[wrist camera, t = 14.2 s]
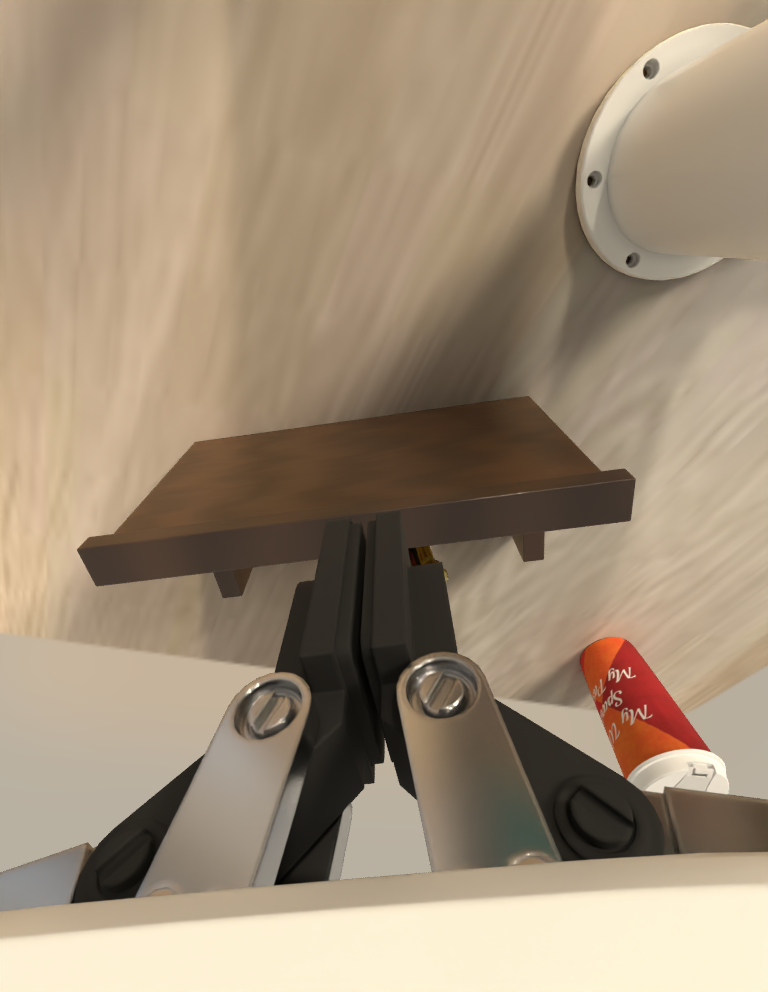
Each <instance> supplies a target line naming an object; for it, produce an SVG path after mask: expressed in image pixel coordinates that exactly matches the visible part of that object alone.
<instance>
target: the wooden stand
mask: <svg viewBox="0 0 768 992" xmlns="http://www.w3.org/2000/svg"><path fill="white" fill-rule="evenodd" d="M635 481H636V479H635V478H634V477H633V476H632V475H631V474H630V473H629V472H628V471H627V470H626V469H616V470H609V471H600V469H599V468H598V467H597V466H596V465H595V464H594V463H593V462H592V461H591V460H590V459H589V458H588V457H587V456H586V455H585V454H584V453H583V452H582V451H581V450H580V449H579V448H578V447H577V446H576V445H575V443H574V442H573V441H572V440H571V439H570V438H569V437H568V436H567V435H566V434H565V433H564V432H563V431H562V430H561V429H560V428H559V427H558V426H557V425H556V424H555V423H554V422H553V421H552V420H551V419H550V418H549V416H548V415H547V414H546V413H545V412H544V411H543V410H542V409H541V408H540V407H539V406H538V405H537V404H536V403H535V402H534V401H533V400H532V399H531V398H530V397H529V396H527V397H520V398H513V399H505V400H498V401H491V402H484V403H476V404H469V405H462V406H455V407H447V408H440V409H433V410H426V411H418V412H411V413H404V414H396V415H389V416H382V417H375V418H367V419H360V420H353V421H346V422H338V423H331V424H324V425H317V426H309V427H302V428H295V429H288V430H280V431H273V432H266V433H259V434H251V435H244V436H237V437H230V438H222V439H215V440H208V441H201V442H195V443H194V444H193V445H192V446H191V447H190V449H189V450H188V451H187V452H186V453H185V454H184V455H183V456H182V458H181V459H180V460H179V461H178V462H177V463H176V464H175V465H174V467H173V468H172V469H171V470H170V471H169V472H168V473H167V474H166V476H165V477H164V478H163V479H162V480H161V481H160V482H159V483H158V485H157V486H156V487H155V488H154V489H153V490H152V491H151V492H150V494H149V495H148V496H147V497H146V498H145V499H144V500H143V501H142V503H141V504H140V505H139V506H138V507H137V508H136V509H135V510H134V512H133V513H132V514H131V515H130V516H129V517H128V518H127V519H126V521H125V522H124V523H123V524H122V525H121V526H120V527H119V528H118V530H117V531H116V532H115V533H114V534H111V535H103V536H95V537H89V538H88V539H87V540H86V541H85V542H84V543H83V544H82V545H81V546H80V547H79V548H78V549H77V551H78V553H79V555H80V557H81V559H82V561H83V563H84V564H85V566H86V568H87V570H88V572H89V574H90V576H91V578H92V579H93V581H94V583H95V585H96V586H104V585H113V584H121V583H129V582H137V581H145V580H153V579H161V578H170V577H178V576H186V575H194V574H202V573H210V572H213V573H214V576H215V578H216V581H217V584H218V586H219V589H220V592H221V594H222V597H223V598H228V597H237V596H242V595H243V592H244V589H245V587H246V584H247V581H248V579H249V576H250V573H251V571H252V568H253V567H259V566H267V565H276V564H284V563H292V562H300V561H308V560H316V559H319V555H320V550H321V545H322V541H323V536H324V531H325V526H326V522H327V521H331V520H338V519H344V518H352V520H353V523H360V522H361V523H362V526H363V529H364V534H365V538H366V541H367V525H368V521H373V520H376V514H377V513H383V512H390V511H396V510H400V511H401V515H402V520H403V525H404V530H405V536H406V541H407V546H408V548H414V547H422V546H430V545H438V544H447V543H455V542H463V541H471V540H479V539H487V538H496V537H504V536H512V537H513V539H514V542H515V544H516V546H517V548H518V551H519V553H520V555H521V557H522V559H523V561H524V562H527V561H536V560H543V559H544V531H553V530H561V529H569V528H577V527H585V526H593V525H601V524H610V523H618V522H626V521H630V520H631V514H632V506H633V497H634V489H635Z"/></svg>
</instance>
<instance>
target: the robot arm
mask: <svg viewBox="0 0 768 992" xmlns="http://www.w3.org/2000/svg"><path fill="white" fill-rule="evenodd" d="M643 69H646V71H647V76H646V78H645V77H644V76H643ZM589 176H591V177H592V180H593V181H592V184H591V185H590V186H588V184H587V179H588V177H589ZM576 201H577V211H578V215H579V219H580V222H581V226H582V230H583V232H584V234H585V236H586V238H587V240H588V242H589V244H590V245H591V247H592V248H593V250H594V251H595V252H596V253H597V254H598V256H599V257H600V258H601V259H602V260H603V261H604V262H606V263H607V264H608V265H610V266H611V267H612V268H614V269H615V270H617V271H619V272H621V273H624V274H626V275H629V276H631V277H636V278H641V279H647V280H670V279H676V278H682V277H685V276H688V275H691V274H694V273H697V272H700V271H702V270H704V269H706V268H708V267H710V266H711V265H713V264H715V263H717V262H719V261H720V260H722V259H723V258H741V259H759V260H768V19H767V20H765V21H764V22H762V23H760V24H758V25H756V26H755V27H753V28H750V27H746V26H742V25H737V24H732V23H713V24H704V25H701V26H697V27H694V28H690V29H687V30H684V31H681V32H680V33H678V34H676V35H674V36H672V37H670V38H668V39H666V40H665V41H663V42H661V43H659V44H658V45H656V46H655V47H654V48H652V49H651V50H649V51H648V52H647V53H645V54H644V55H642V56H641V57H640V58H639V59H638V60H637V61H636V62H635V63H634V64H633V65H631V66H630V67H629V68H628V69H627V70H626V71H625V72H624V73H623V74H622V75H621V76H620V78H619V79H618V80H617V82H616V83H615V84H614V85H613V87H612V88H611V89H610V90H609V92H608V93H607V94H606V96H605V97H604V99H603V101H602V103H601V104H600V106H599V108H598V110H597V111H596V113H595V115H594V116H593V118H592V121H591V123H590V126H589V128H588V131H587V133H586V136H585V138H584V141H583V144H582V149H581V153H580V157H579V161H578V165H577V176H576ZM628 256H630V261H629V262H628V263H627V264H626V259H627V257H628ZM385 740H386V744H387V748H388V751H389V755H390V758H391V761H392V762H394V766H395V770H396V773H397V776H398V780H399V783H400V785H401V786H402V787H403V788H404V789H405V790H406V791H407V792H408V793H410V794H411V795H412V796H413V797H414V798H415V799H416V800H417V801H418V806H419V811H420V816H421V821H422V826H423V831H424V835H425V841H426V845H427V850H428V856H429V860H430V865H431V870H432V872H428V873H416V874H404V875H392V876H380V877H368V878H357V879H344V880H340V877H341V872H342V867H343V861H344V856H345V851H346V846H347V841H348V836H349V830H350V825H351V820H352V804H351V802H352V801H353V800H354V799H355V798H356V797H357V796H358V794H359V793H360V792H361V791H362V790H363V789H364V784H371V783H374V777H375V776H374V775H375V764H380V763H383V762H384V753H385V751H384V749H385V747H384V746H385ZM0 992H768V800H766V799H759V798H751V797H743V796H736V795H728V794H720V793H712V792H705V791H697V790H689V789H681V788H674V787H666V786H664V791H663V793H657V792H650V791H642V790H640V789H638V788H637V787H636V786H634V785H633V784H632V783H631V782H629V781H628V780H627V779H625V778H624V777H623V776H621V775H619V774H618V773H616V772H614V771H613V770H611V769H609V768H608V767H606V766H604V765H603V764H601V763H599V762H598V761H596V760H594V759H593V758H591V757H590V756H588V755H586V754H585V753H583V752H581V751H580V750H578V749H576V748H575V747H573V746H572V745H570V744H568V743H567V742H565V741H563V740H562V739H560V738H558V737H557V736H555V735H553V734H552V733H550V732H549V731H547V730H545V729H543V728H542V727H540V726H539V725H537V724H535V723H534V722H532V721H531V720H529V719H527V718H526V717H524V716H522V715H520V714H519V713H517V712H516V711H514V710H512V709H511V708H509V707H508V706H506V705H504V704H502V703H501V702H499V701H498V700H496V699H494V696H493V694H492V692H491V689H490V687H489V684H488V682H487V680H486V677H485V675H484V674H483V672H482V671H481V669H480V668H479V666H478V665H477V664H475V663H474V662H473V661H472V660H470V659H469V658H467V657H465V656H462V655H460V654H458V652H457V646H456V640H455V634H454V628H453V622H452V617H451V611H450V605H449V599H448V593H447V587H446V581H445V576H444V570H443V564H442V562H439V563H432V564H425V565H418V566H411V562H410V557H409V552H408V546H407V541H406V536H405V530H404V525H403V520H402V515H401V511H400V510H396V511H390V512H383V513H377V514H376V520H373V521H368V525H367V541H366V538H365V534H364V529H363V526H362V523H361V522H360V523H353V520H352V518H344V519H338V520H331V521H327V522H326V526H325V531H324V536H323V541H322V545H321V550H320V555H319V560H318V565H317V570H316V575H315V580H312V581H305V582H300V583H299V584H298V585H297V587H296V590H295V594H294V598H293V602H292V606H291V610H290V614H289V618H288V622H287V626H286V630H285V634H284V638H283V642H282V646H281V650H280V654H279V658H278V661H277V665H276V669H275V673H270V674H267V675H265V676H262V677H259V678H257V679H256V680H254V681H252V682H251V683H249V684H248V685H246V686H245V687H244V688H243V689H242V690H241V691H240V692H239V693H238V694H237V695H236V696H235V697H234V699H233V700H232V702H231V703H230V705H229V706H228V708H227V710H226V712H225V714H224V716H223V718H222V720H221V722H220V725H219V727H218V729H217V731H216V733H215V735H214V737H213V739H212V741H211V743H210V745H209V747H208V749H207V751H206V753H205V754H204V755H203V756H202V757H201V758H199V759H198V760H197V761H195V762H194V763H193V764H192V765H191V766H189V767H188V768H187V769H186V770H185V771H183V772H182V773H181V774H180V775H179V776H177V777H176V778H175V779H174V780H172V781H171V782H170V783H169V784H168V785H166V786H165V787H164V788H163V789H161V790H160V791H159V792H158V793H157V794H155V796H153V797H152V798H151V799H149V800H148V801H147V802H146V803H144V805H142V806H141V807H140V808H138V809H137V810H136V811H135V812H134V813H132V814H131V815H130V816H129V817H128V818H126V819H125V820H124V821H123V822H122V823H120V824H119V825H118V826H117V827H115V828H114V829H113V830H112V831H111V832H110V833H109V834H108V835H107V836H106V837H105V838H104V839H103V840H102V841H101V842H100V843H99V844H98V846H97V847H95V848H92V847H91V845H90V844H89V843H85V844H82V845H79V846H76V847H73V848H70V849H68V850H65V851H61V852H59V853H56V854H53V855H50V856H47V857H44V858H41V859H38V860H35V861H32V862H30V863H27V864H24V865H21V866H18V867H15V868H12V869H9V870H6V871H3V872H0Z"/></svg>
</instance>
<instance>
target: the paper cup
mask: <svg viewBox="0 0 768 992" xmlns="http://www.w3.org/2000/svg"><path fill="white" fill-rule="evenodd" d="M580 664H581V668H582V671H583V673H584V676H585V679H586V682H587V684H588V687H589V689H590V692H591V694H592V697H593V700H594V702H595V705H596V707H597V710H598V712H599V715H600V717H601V720H602V722H603V725H604V727H605V730H606V732H607V735H608V738H609V740H610V743H611V745H612V747H613V750H614V753H615V755H616V758H617V760H618V763H619V765H620V767H621V770H622V773H623V775H624V778H625V779H627V780H628V781H629V782H631V783H632V784H633V785H634V786H636V787H637V788H638V789H640V790H642V791H650V792H657V793H663V791H664V786H666V787H674V788H681V789H689V790H697V791H705V792H712V793H720V794H728V792H729V781H728V779H727V777H726V767H725V764H724V762H723V761H722V760H721V758H720V757H718V756H717V755H715V754H713V753H711V751H710V750H709V748H708V747H707V746H706V744H705V743H704V741H703V740H702V739H701V737H700V736H699V735H698V733H697V732H696V731H695V729H694V728H693V726H692V725H691V724H690V722H689V721H688V719H687V718H686V717H685V715H684V714H683V713H682V711H681V710H680V708H679V707H678V706H677V704H676V703H675V701H674V700H673V699H672V697H671V696H670V695H669V693H668V692H667V690H666V689H665V688H664V686H663V685H662V684H661V682H660V681H659V680H658V678H657V677H656V675H655V674H654V673H653V671H652V670H651V669H650V667H649V666H648V665H647V663H646V662H645V660H644V659H643V658H642V656H641V655H640V654H639V653H638V651H637V650H636V649H635V647H634V646H633V645H632V644H631V643H630V642H629V641H627V640H625V639H622V638H616V637H611V638H605V639H601V640H598V641H596V642H594V643H592V644H591V645H590V646H588V647H587V648H586V649H585V650H584V652H583V653H582V655H581V659H580Z"/></svg>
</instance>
